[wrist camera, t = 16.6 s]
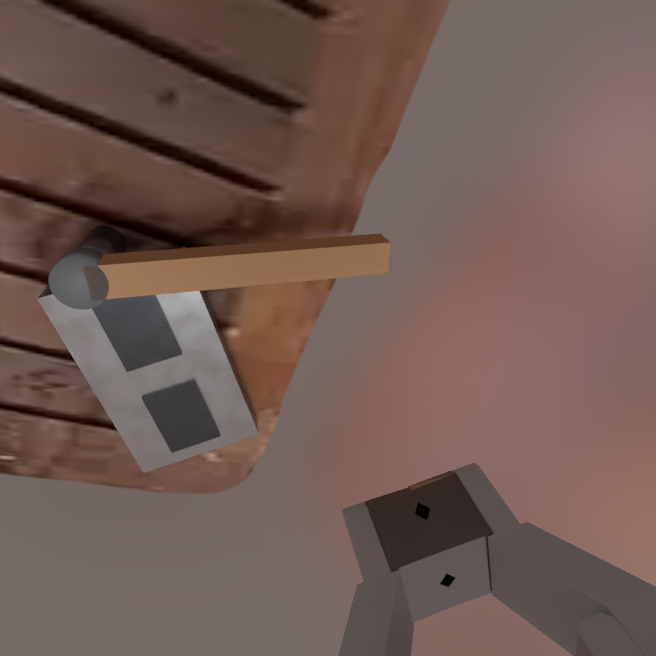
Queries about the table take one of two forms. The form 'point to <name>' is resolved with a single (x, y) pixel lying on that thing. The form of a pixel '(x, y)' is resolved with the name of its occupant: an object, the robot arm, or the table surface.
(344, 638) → the robot arm
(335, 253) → the swing bar
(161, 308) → the block
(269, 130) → the table surface
